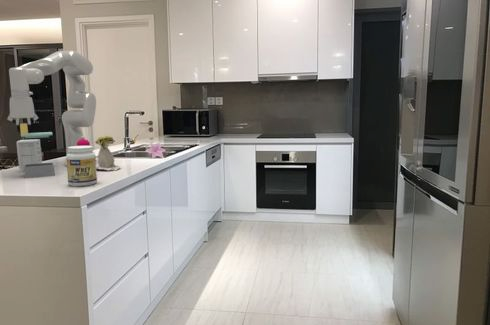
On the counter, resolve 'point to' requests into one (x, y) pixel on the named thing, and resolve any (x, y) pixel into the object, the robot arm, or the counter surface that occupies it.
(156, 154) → the lily
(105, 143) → the potted plant
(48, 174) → the tub
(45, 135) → the lid
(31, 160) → the supplement box
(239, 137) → the counter surface
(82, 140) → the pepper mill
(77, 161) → the supplement tub
